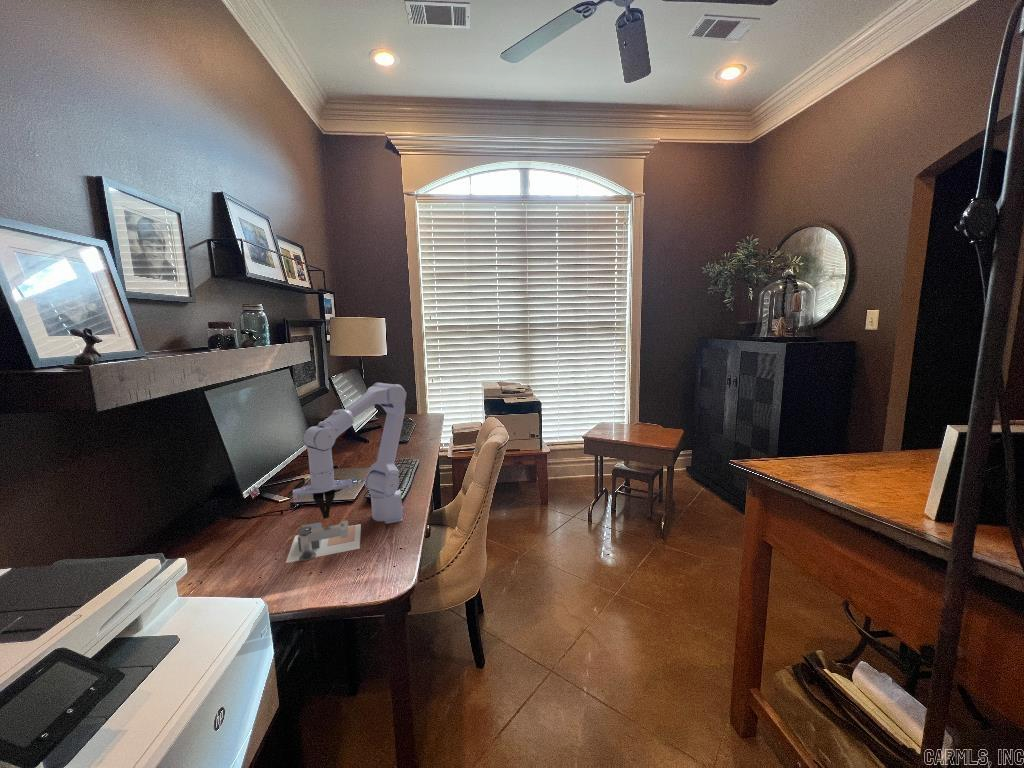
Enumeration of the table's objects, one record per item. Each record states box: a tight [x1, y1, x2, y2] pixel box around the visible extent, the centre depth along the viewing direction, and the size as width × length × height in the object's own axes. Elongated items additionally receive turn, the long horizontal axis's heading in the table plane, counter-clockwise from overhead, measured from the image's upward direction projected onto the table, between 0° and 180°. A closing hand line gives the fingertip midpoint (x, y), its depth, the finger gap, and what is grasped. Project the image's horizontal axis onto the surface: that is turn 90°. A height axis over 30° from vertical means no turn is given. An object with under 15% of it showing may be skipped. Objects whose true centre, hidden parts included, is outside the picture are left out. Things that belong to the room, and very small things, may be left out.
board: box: [285, 523, 362, 564], centre depth 108 cm, size 18×15×1 cm
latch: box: [297, 520, 349, 558], centre depth 103 cm, size 5×12×8 cm, turn 111°
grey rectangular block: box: [298, 522, 322, 551], centre depth 108 cm, size 5×7×4 cm
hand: (326, 516), depth 106 cm, fingers closed
